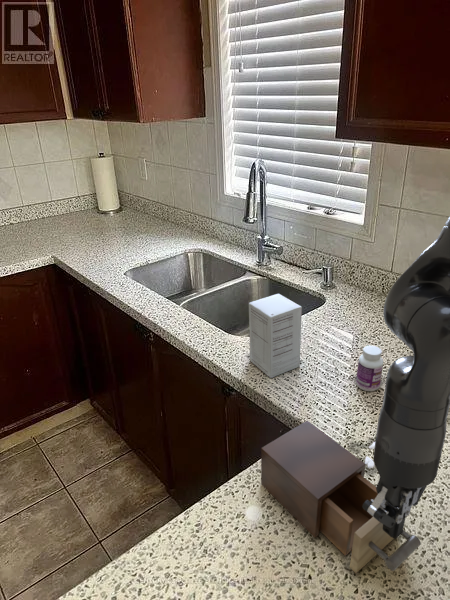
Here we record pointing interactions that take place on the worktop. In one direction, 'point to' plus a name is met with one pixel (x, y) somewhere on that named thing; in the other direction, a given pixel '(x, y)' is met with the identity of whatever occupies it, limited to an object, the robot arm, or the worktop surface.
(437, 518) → the worktop surface
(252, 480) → the worktop surface
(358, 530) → the drawer
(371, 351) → the pill bottle
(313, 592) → the worktop surface
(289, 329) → the supplement box
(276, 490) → the cabinet
